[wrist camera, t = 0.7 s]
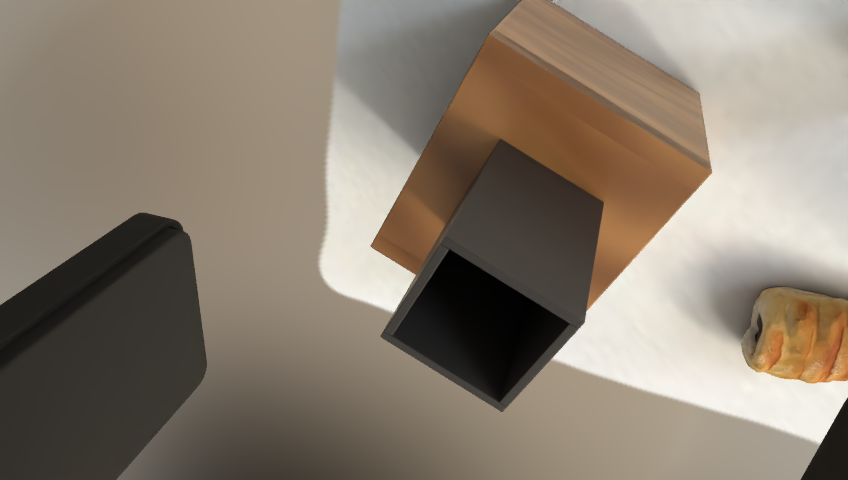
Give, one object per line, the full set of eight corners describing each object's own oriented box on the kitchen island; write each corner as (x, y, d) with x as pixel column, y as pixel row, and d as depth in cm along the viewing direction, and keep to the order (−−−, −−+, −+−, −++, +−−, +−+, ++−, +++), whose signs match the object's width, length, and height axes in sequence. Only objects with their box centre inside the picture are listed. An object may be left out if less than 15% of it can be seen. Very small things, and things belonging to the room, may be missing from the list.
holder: (500, 137, 32) (444, 235, 24) (604, 202, 32) (585, 322, 24) (445, 224, 35) (379, 337, 27) (539, 283, 35) (502, 413, 27)
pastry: (916, 298, 42) (937, 335, 38) (882, 378, 45) (898, 417, 42) (756, 278, 44) (763, 310, 41) (735, 354, 48) (740, 390, 44)
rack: (531, -11, 39) (488, 33, 30) (699, 93, 39) (712, 172, 30) (430, 165, 47) (370, 246, 38) (570, 251, 47) (546, 355, 38)
